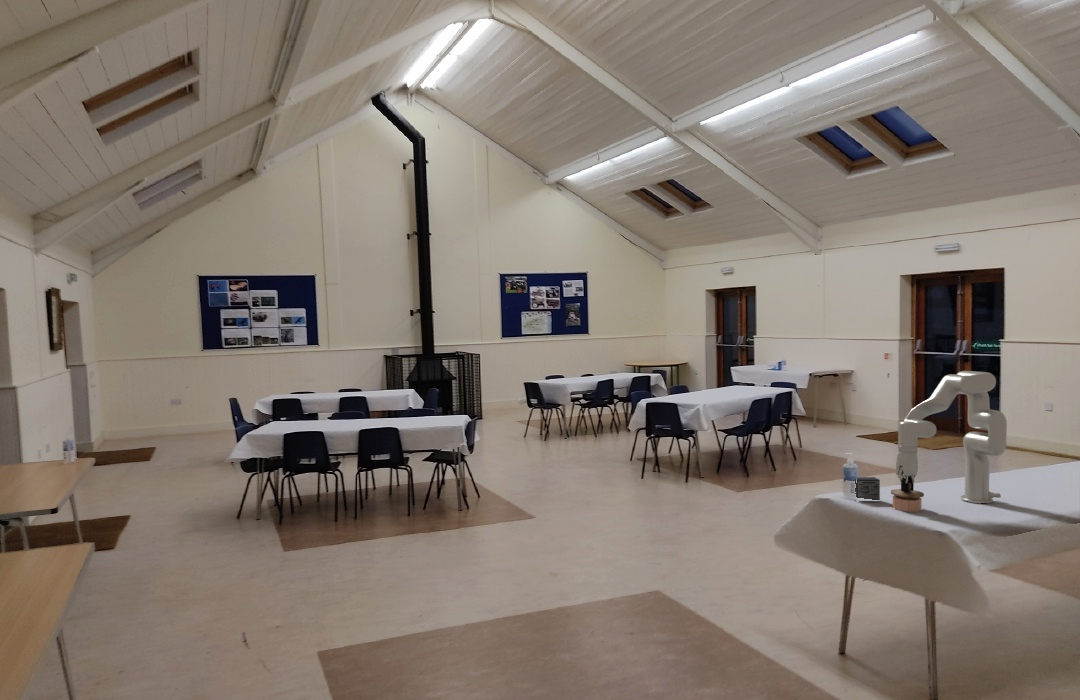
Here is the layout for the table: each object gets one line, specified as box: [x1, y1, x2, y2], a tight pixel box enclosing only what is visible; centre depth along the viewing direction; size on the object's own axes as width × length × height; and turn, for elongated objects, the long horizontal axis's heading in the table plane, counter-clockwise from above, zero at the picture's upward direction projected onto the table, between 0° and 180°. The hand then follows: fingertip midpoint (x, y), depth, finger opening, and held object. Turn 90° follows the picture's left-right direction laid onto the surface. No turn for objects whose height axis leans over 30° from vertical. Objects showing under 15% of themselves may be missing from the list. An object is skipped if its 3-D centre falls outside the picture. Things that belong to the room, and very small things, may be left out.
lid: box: [890, 483, 925, 498], centre depth 323 cm, size 13×13×5 cm
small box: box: [855, 476, 881, 501], centre depth 339 cm, size 11×6×10 cm, turn 88°
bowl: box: [892, 495, 923, 513], centre depth 323 cm, size 11×11×5 cm
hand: (907, 490), depth 323 cm, fingers closed on lid, 3 cm apart
